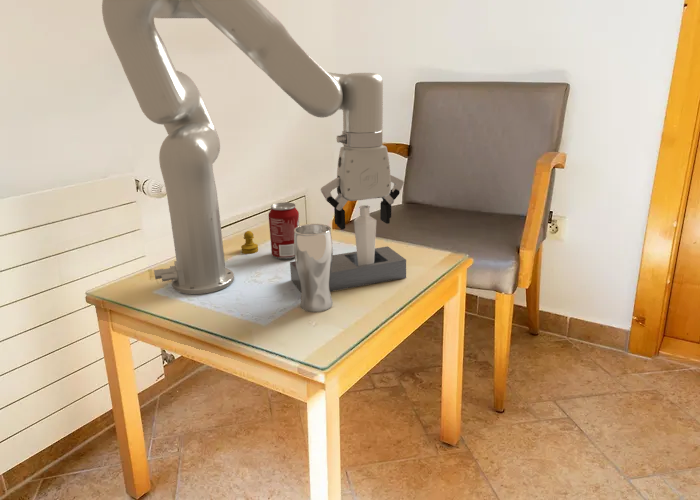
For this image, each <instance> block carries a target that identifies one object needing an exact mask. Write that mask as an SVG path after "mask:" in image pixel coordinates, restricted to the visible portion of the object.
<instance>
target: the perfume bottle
mask: <svg viewBox="0 0 700 500" xmlns="http://www.w3.org/2000/svg"><path fill="white" fill-rule="evenodd" d="M370 208H371V206H369V205H359V215H358V216H356V218H355V219H354V221H353V226H354V228H353V229H354V236H355V247H356V251H357V259H358V266H361V265H367V264H373V263H374V254H375V248H376V237H377V222H378V221H377V219H376V218H374V217H372V216H371V215H370Z"/></svg>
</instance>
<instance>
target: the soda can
mask: <svg viewBox="0 0 700 500" xmlns="http://www.w3.org/2000/svg"><path fill="white" fill-rule="evenodd" d="M299 214H300V213H299V211H298V209H297V208H296V203H294V202H286V201H284V202H276V203H273V204H271V205H270V210H269V212H268V224H269V237H270V238H269V239H270V253H271V256H272V257H273V258H276V259H277V260H281V261H283V260H284V261H286V260H292V259H295V254H294V229H295V228H296V227H298V226H300V215H299Z"/></svg>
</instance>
